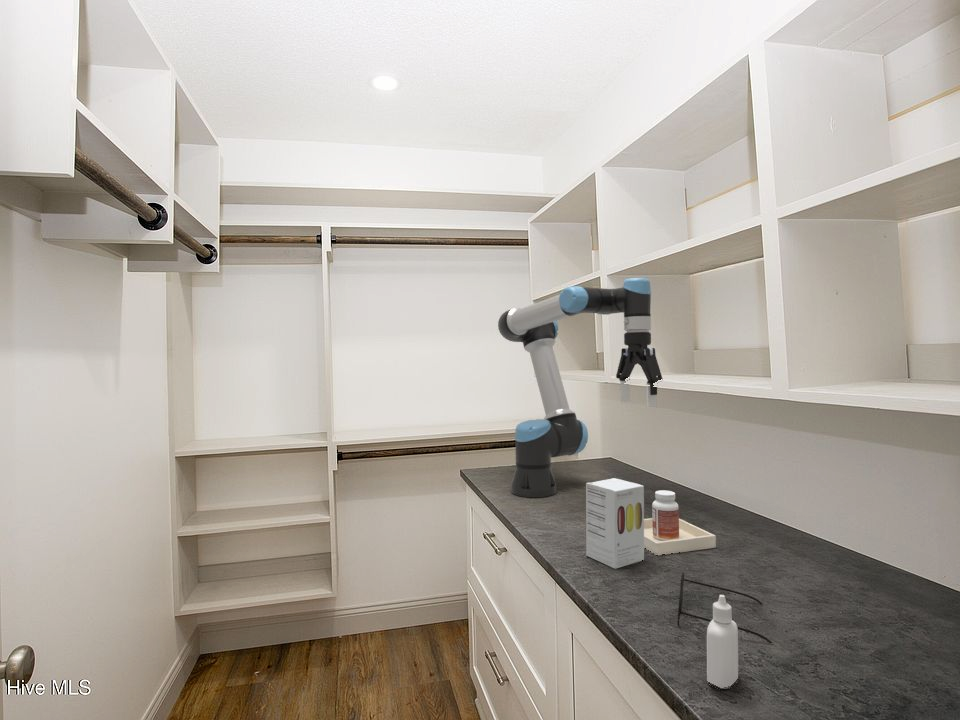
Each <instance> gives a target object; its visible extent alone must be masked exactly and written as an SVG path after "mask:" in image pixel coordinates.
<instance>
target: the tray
mask: <svg viewBox="0 0 960 720" xmlns="http://www.w3.org/2000/svg"><path fill="white" fill-rule="evenodd" d="M716 537H717V536H716V535H715V534H713V533H711V532H709V531H707V530H704V529H703V528H700V527H698V526H696V525H694V524H691V523H690V522H687V521H686V520H684V519H681V518H679V538H678V539H675V540H668V541H662V540H658V539H656V538H654V536H653V521H652V517H650V518H644V549H645V548H646V549H645V550H646V551H648V550H649V551H648V552H650V551H651V552H650V553H652V554H653V553H654V554H653V555H655V556H656V555H658V556H663V555H662V554H665V555H670V554H671V553H673V554H678V553H679V552H680V553H685V552H692V551H700V550H706V549H707V550H708V549H714V548H715V549H716V548H717V538H716ZM671 555H672V554H671Z"/></svg>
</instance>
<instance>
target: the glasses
mask: <svg viewBox="0 0 960 720" xmlns="http://www.w3.org/2000/svg"><path fill="white" fill-rule="evenodd" d="M680 579H681V580H680V591H679V599H678V610H677V611H678V612H677V625H680V618H681V615H684V616H688V617H690V618H695V619H699V620H701V621H706V622H709V623H710V622H711V621H712V620H713V619H710V618H706V617H703V616H698V615H695V614H690V613H687V612H684V611H682V607H683V600H684V590H683V589H684V583H685V582H689V583H692V584H697V585H700V586H705V587H708V588H714V589H717V590H722V591H725V592H729V593H733V594H737V595H739V596H740V595H741V596H744V597H747V598H748V599H749V598H750V599H752V600H754V601H756V602H757V603H758V604H760V605H761V604H763V603H762V601H760V600H759V599H757V598H756V597H754V596H751V595H749V594H746V593H743V592H739V591H735V590H732V589H729V588H725V587H720V586H717V585H716V586H715V585H712V584H707V583H702V582H699V581H694V580H690V579H686V578H685V573H681V578H680ZM737 627H738V631H739V630H740V631H743V632H746V633H750V634H752V635H755V636H757V637H760V638H762V639H764V640H765V641H766V642H767V643H769V644H770V643H773V642H772V641H771V640H770V639H769V638H768V637H766V636H765V635H763V634H760V633H758V632H756V631H753V630H750V629H747V628H743V627H740V626H737Z"/></svg>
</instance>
